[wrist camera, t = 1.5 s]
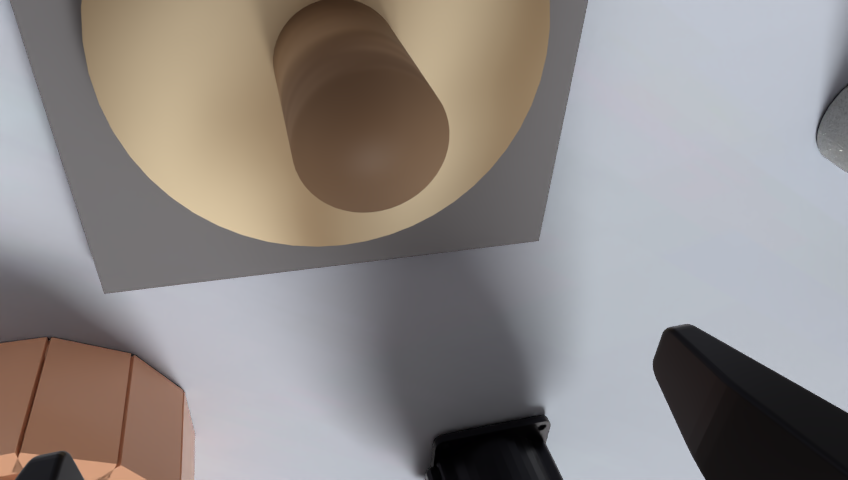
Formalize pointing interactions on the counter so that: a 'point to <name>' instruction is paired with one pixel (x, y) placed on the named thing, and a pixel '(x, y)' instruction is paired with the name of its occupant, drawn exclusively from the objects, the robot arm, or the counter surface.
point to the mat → (241, 255)
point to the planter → (835, 132)
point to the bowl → (92, 412)
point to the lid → (315, 105)
